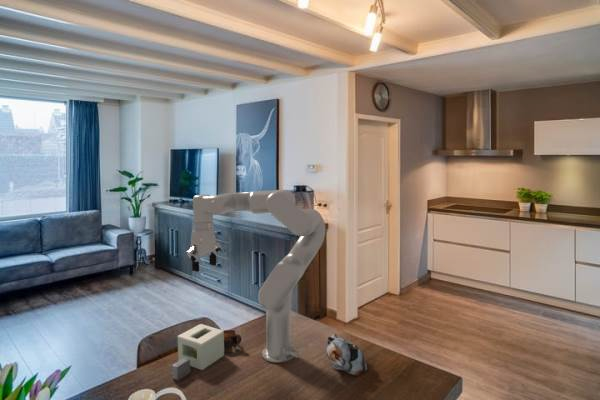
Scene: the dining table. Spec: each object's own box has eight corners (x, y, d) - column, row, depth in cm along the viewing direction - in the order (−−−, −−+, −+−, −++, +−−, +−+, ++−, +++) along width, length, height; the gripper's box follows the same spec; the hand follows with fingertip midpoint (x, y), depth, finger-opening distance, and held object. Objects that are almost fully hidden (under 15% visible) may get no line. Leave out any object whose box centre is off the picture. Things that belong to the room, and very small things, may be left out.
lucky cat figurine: (370, 377, 134) (357, 350, 129) (338, 388, 135) (324, 362, 130) (361, 345, 148) (349, 319, 142) (332, 355, 149) (319, 330, 144)
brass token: (209, 354, 148) (209, 341, 147) (198, 361, 143) (198, 348, 142) (204, 352, 149) (204, 340, 149) (193, 359, 144) (193, 346, 144)
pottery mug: (209, 353, 151) (210, 331, 154) (223, 353, 159) (223, 332, 162) (236, 350, 147) (236, 328, 150) (248, 350, 155) (248, 329, 158)
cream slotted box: (224, 355, 148) (223, 330, 147) (202, 370, 138) (201, 343, 137) (201, 347, 154) (200, 323, 153) (178, 361, 144) (177, 336, 143)
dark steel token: (190, 372, 137) (189, 359, 136) (177, 380, 132) (176, 367, 131) (185, 370, 138) (184, 357, 137) (172, 378, 133) (171, 365, 132)
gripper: (211, 221, 160) (212, 261, 162) (180, 228, 145) (181, 272, 147) (225, 223, 157) (226, 264, 159) (194, 230, 142) (195, 275, 144)
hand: (204, 267), depth 153 cm, fingers open, 9 cm apart
